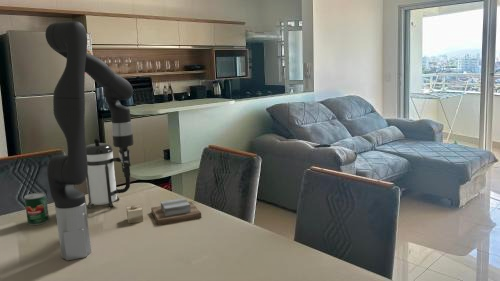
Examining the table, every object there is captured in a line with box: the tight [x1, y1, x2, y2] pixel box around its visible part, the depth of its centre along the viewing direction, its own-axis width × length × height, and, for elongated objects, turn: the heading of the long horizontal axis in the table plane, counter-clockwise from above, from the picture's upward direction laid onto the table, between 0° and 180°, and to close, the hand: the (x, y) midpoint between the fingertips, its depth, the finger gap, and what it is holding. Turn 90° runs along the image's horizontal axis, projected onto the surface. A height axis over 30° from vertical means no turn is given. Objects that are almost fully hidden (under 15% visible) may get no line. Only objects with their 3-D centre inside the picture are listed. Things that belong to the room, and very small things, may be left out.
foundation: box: [151, 197, 202, 226], centre depth 175 cm, size 16×17×5 cm
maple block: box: [126, 204, 144, 224], centre depth 171 cm, size 6×6×6 cm
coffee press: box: [85, 137, 131, 210], centre depth 190 cm, size 17×16×30 cm
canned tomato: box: [23, 192, 50, 226], centre depth 173 cm, size 8×8×11 cm
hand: (126, 174), depth 169 cm, fingers open, 8 cm apart
